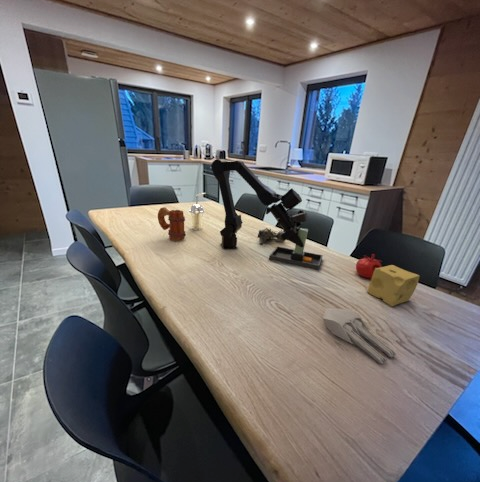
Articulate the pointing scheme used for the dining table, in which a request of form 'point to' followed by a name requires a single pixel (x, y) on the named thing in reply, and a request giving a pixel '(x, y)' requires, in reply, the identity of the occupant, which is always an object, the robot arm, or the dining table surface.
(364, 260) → the pomegranate
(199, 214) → the cup with straw
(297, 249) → the brush
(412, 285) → the cheese
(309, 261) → the crust
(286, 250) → the pan
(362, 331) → the turret
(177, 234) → the mug
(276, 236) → the brown spiky lump
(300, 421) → the dining table surface
